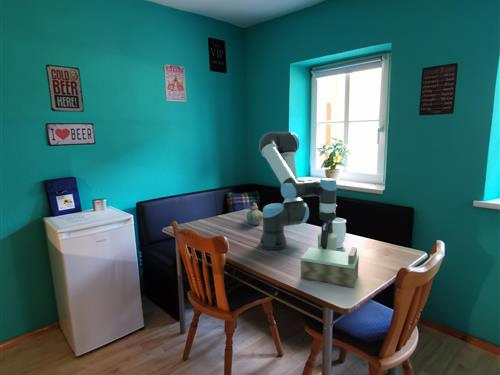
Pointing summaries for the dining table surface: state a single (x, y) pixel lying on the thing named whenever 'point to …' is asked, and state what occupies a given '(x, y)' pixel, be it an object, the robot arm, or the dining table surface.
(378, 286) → the dining table surface
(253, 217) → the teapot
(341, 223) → the jar
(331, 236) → the can
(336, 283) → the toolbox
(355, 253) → the lid
